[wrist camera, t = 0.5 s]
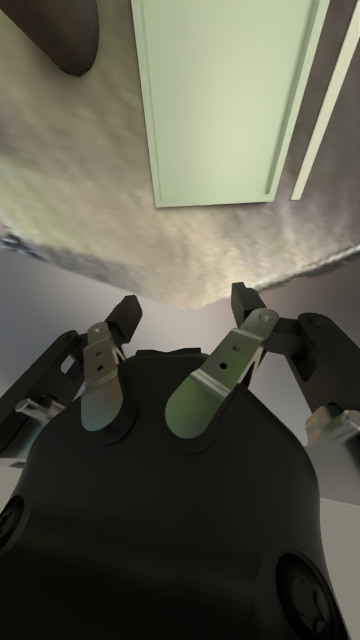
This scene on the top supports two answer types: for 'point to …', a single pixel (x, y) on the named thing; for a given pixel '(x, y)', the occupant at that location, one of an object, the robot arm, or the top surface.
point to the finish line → (329, 99)
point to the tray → (222, 93)
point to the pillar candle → (59, 29)
